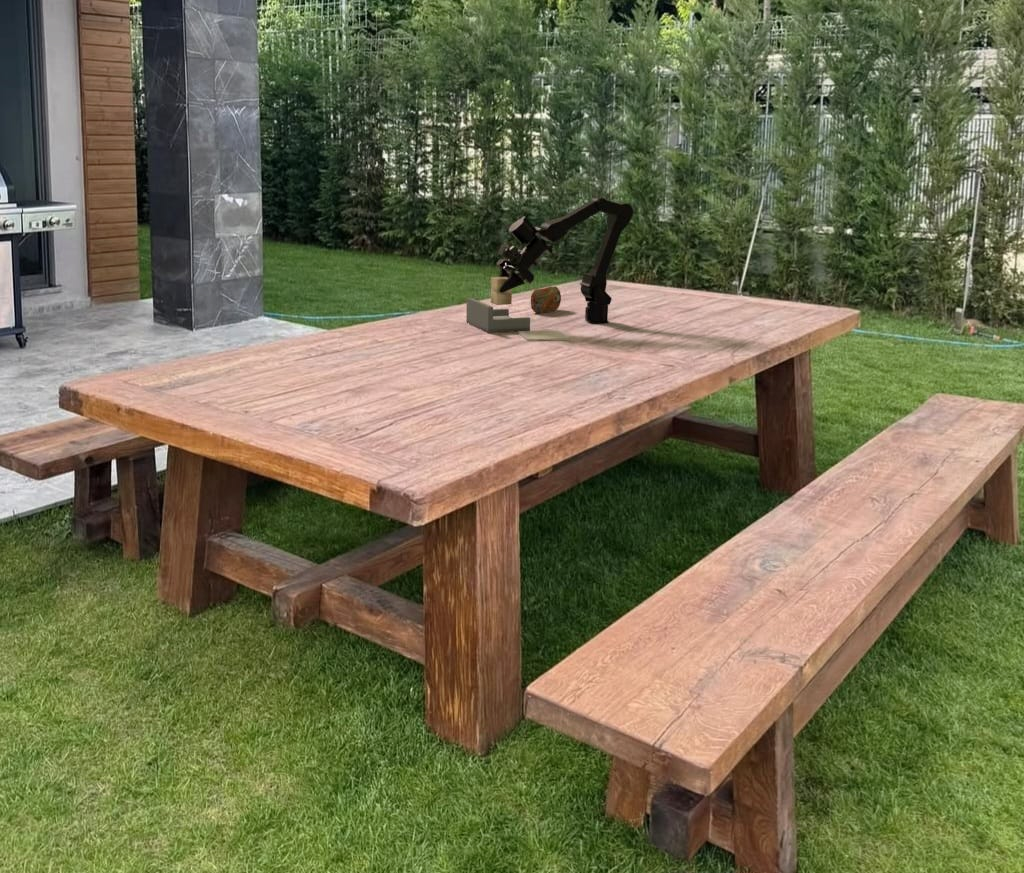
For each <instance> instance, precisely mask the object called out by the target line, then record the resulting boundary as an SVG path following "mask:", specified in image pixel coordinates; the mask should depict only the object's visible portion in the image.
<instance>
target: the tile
mask: <svg viewBox="0 0 1024 873" xmlns="http://www.w3.org/2000/svg"><path fill="white" fill-rule="evenodd" d="M517 334H518V335H519V334H520V336H521V337H522V338H523V339H524V338H525V339H524V340H525V341H527V342H539V341H538V340H553V341H570V339H571V338H570V337H569V336H567V335H566V334H565V333H563V332H562V331H560V330H530V331H518V332H517Z"/></svg>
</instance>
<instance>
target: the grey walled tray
mask: <svg viewBox="0 0 1024 873" xmlns="http://www.w3.org/2000/svg"><path fill="white" fill-rule="evenodd" d="M509 315H510V309H509V308H494V306H492V305H490V304H487V303H485V302H482V301H480V300H477V299H476V298H473V297H466V322H467V323H466V322H465V323H466V324H468V323H469V324H468V325H470V326H473V327H474V328H476V329H479V330H480V329H481V330H480V331H483V332H485V333H486V334H498V333H499V334H500V333H518V331H531V317H528V316H527V317H511V316H509Z"/></svg>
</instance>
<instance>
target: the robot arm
mask: <svg viewBox="0 0 1024 873" xmlns="http://www.w3.org/2000/svg"><path fill="white" fill-rule="evenodd" d="M599 212H600V213H601V212H602V213H603V214H606V215H607V216H606V222H607V223H606V225H607V226H606V227H607V228H606V231H605V234H604V236H603V239H602V242H601V243H600V244H601V245H600V248H599V249H598V253H597V255H596V259H595V262H594V263H593V267H592V270H590V272H589V273H587V272H584V274H583V275H582V280H581V282H580V283H579V285H580V291H581V294H582V296H584V300H585V302H586V304H587V305H586V307H585V310H584V311H585V314H584V317H585V318H584V319H585V321H586V322H588V323H589V322H590V323H589V324H600V323H599V322H603V323H602V324H608V322H609V323H610V321H609V320H608V318H609V305H611V302H612V299H613V298H612V297H611V296H610V294H609V293H607V291H606V289H607V285H608V284H607V283H608V281H607V273H608V271H609V267H610V265H611V262H612V259H613V257H614V254H615V251H616V248H617V245H618V243H619V240H620V237H621V234H622V232H623V231H624V230H625V229H626V228H627V227H628V226H629V224H630V222H631V221H632V218H633V217H634V209H633V206H632V205H630V203H626V202H624V203H623V202H618V201H617V202H614V201H612V200H607V199H605V198H603V197H598V196H597V197H593V198H592V199H591V200H589V201H588V202H586V203H585V204H583V205H580V206H579V207H578V208H575V209H573V211H570V212H569V213H567V214H565V215H564V216H561V217H558V218H554V219H551V220H550V219H549V220H548V221H545V222H542V224H541V225H539V226H534V224H533V223H531V221H530V220H529V218H527V216H524V215H523V216H522V217H521V218H519V219H518V220H516V221H515V222H513V223H512V224H511V225H510V226H509V228H508V231H509V233H510V234H511V235H512V236H513V238H515V240H517V242H518V243H519V244H520V245H523V244H525V246H524V247H523V248H522V249H519V248H518V247H516V246H513V245H511V247H509V246H506V245H503V244H502V245H501V246H500V248H499V250H498V252H497V256H500V257H501V256H502V257H503V258H500V259H499V260H498V261H496V265H497V267H498V269H499V275H498V277H508V279H507V280H506V281H505V283H504V284H503V286H502V287H501V289H500V290H499V291H500V292H501V293H503V292H505V291H508V290H510V289H512V290H513V289H514V288H517V287H519V286H523V285H525V284H528V285H530V284H532V283H533V282H534V281H535V274H534V273H532V271H530V269H531V268H532V266H533V267H536V266H537V264H538V263H537V261H538V260H539V259H541V257H542V256H543V255H544V254H545V253H547V254H550V255H553V253H554V251H553V247H554V246H553V245H552V244H548V243H547V242H553V243H556V242H559V241H560V240H561V239H562V238H563V237H565V236H566V235H567V234H568V232H569V231H570V230H571V229H573V228H574V227H576V226H577V225H579V224H581V223H582V222H584V221H586V220H587V219H589V218H591V217H593V216H594V215H596V214H597V213H599ZM538 236H539V237H541V238H539V237H538ZM546 241H547V242H546Z"/></svg>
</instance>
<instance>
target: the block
mask: <svg viewBox="0 0 1024 873" xmlns="http://www.w3.org/2000/svg"><path fill="white" fill-rule="evenodd" d="M507 279H508V277H499V276H491V277H490V303H491V304H493V305H496V306H503V305H505V306H506V305H512V304H513V303H512V300H513V299H512V298H513V297H512V295H513V294H512V292H513V291H512V290H513V288H512V289H510V290H508V291H505V292H503V293H501V292H500V291H499V290H500V289H501V287H502V286H503V284H504V283H505V281H506V280H507Z"/></svg>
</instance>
